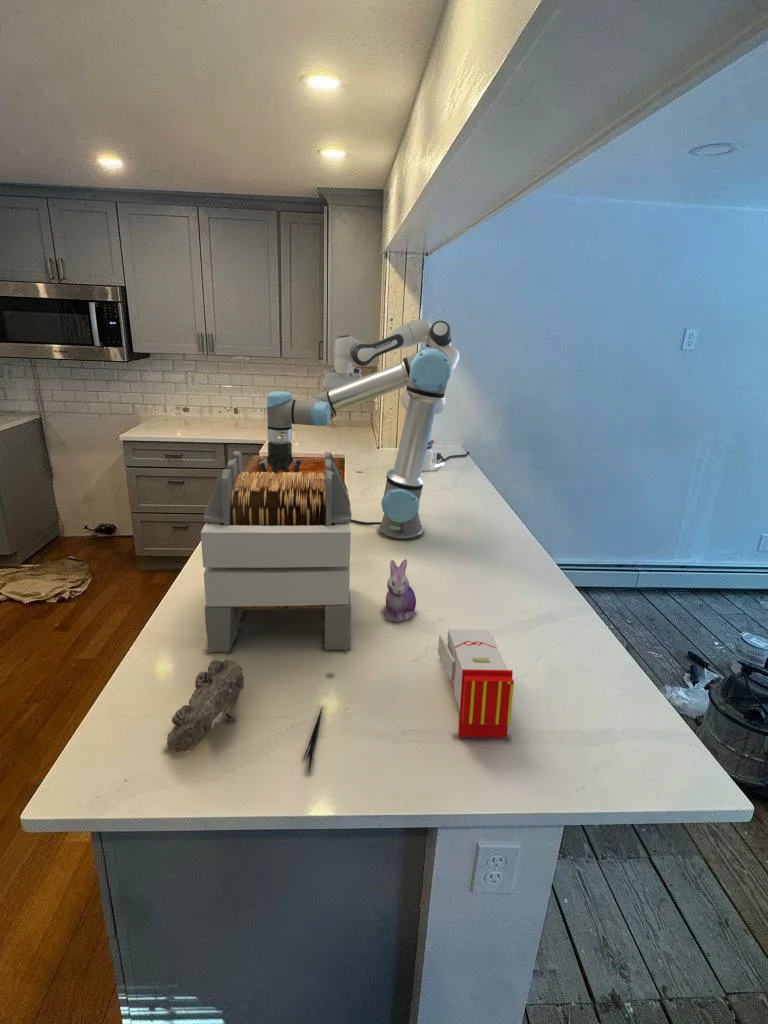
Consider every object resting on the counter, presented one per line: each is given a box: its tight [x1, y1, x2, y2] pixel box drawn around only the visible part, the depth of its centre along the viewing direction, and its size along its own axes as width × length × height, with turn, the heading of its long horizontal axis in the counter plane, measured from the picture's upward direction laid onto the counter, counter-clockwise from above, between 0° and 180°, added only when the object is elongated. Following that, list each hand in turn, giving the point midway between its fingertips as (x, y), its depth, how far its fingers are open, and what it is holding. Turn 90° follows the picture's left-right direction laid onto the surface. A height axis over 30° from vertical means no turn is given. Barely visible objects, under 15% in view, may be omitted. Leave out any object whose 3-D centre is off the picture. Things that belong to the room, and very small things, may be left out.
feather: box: [301, 673, 332, 771], centre depth 108 cm, size 2×28×2 cm
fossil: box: [166, 658, 245, 754], centre depth 106 cm, size 22×10×15 cm
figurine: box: [384, 558, 417, 623], centre depth 145 cm, size 9×10×15 cm
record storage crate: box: [200, 450, 353, 653], centre depth 138 cm, size 34×33×41 cm
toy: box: [437, 628, 515, 738], centre depth 117 cm, size 12×13×30 cm
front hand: (280, 510), depth 188 cm, fingers closed on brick, 4 cm apart
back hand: (342, 397), depth 287 cm, fingers open, 8 cm apart
